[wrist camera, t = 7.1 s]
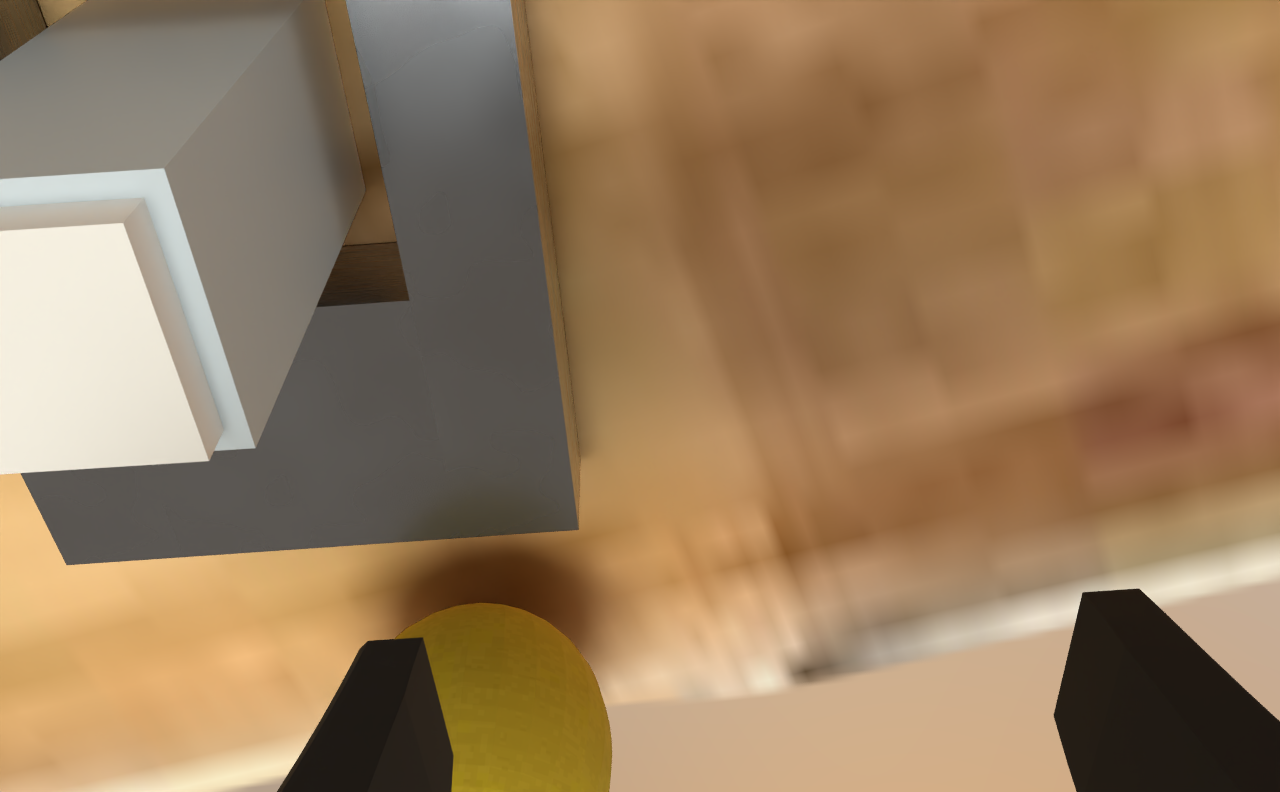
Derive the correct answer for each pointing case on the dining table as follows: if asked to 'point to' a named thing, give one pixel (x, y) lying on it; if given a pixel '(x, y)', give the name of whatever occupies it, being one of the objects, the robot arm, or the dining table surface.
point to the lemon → (516, 702)
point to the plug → (164, 225)
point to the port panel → (389, 334)
